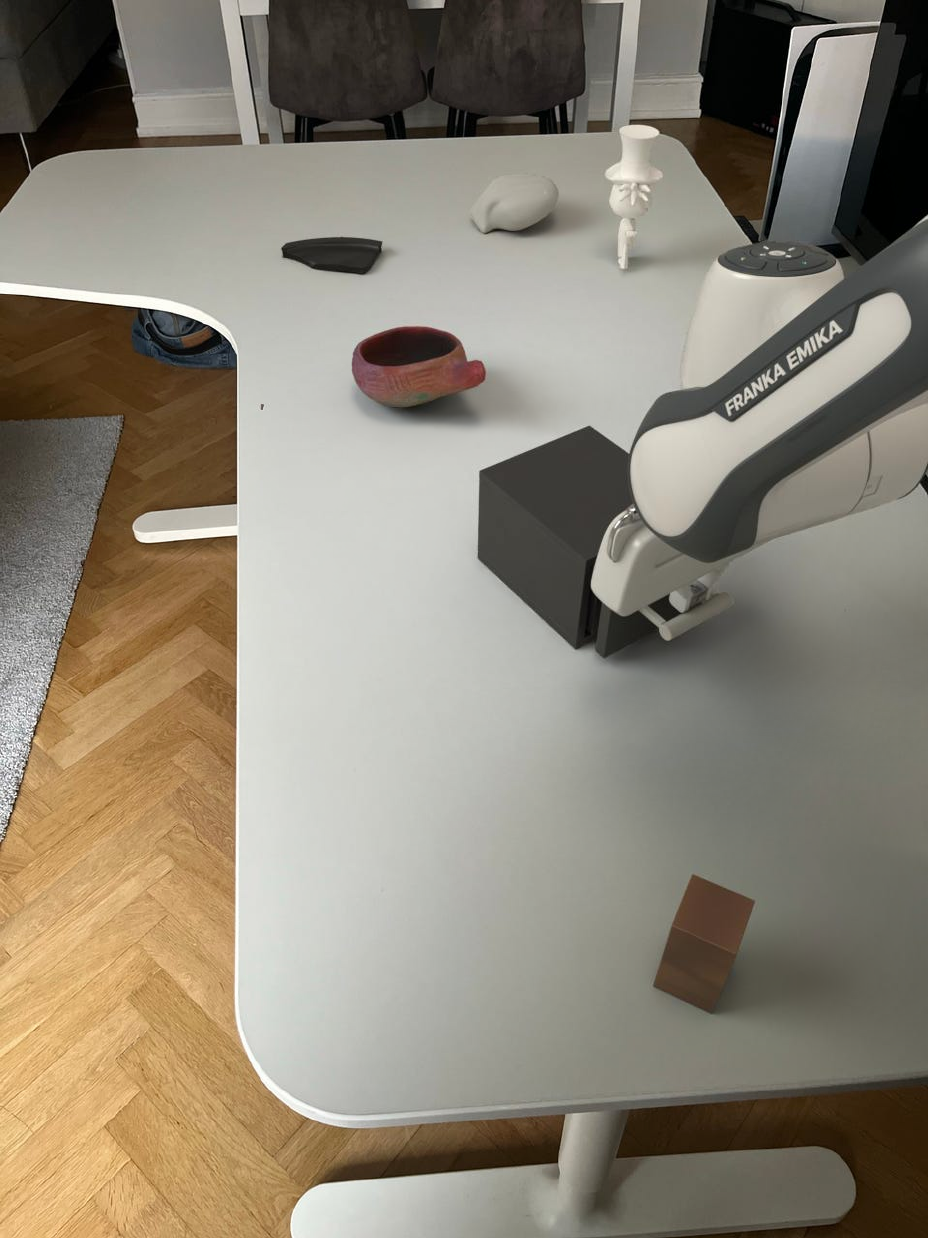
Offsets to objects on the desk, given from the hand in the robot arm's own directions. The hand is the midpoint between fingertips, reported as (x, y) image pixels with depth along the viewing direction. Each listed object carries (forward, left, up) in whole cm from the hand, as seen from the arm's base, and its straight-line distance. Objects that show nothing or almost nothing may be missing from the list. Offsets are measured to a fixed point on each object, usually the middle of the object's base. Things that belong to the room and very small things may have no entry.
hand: (688, 601), depth 81 cm
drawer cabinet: (+12, -6, -7) cm, 15 cm away
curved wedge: (+69, -53, -7) cm, 87 cm away
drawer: (+7, -3, -6) cm, 9 cm away
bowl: (+40, -26, -7) cm, 48 cm away
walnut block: (-10, +27, -7) cm, 30 cm away
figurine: (+32, -70, -7) cm, 77 cm away
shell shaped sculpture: (+52, -76, -7) cm, 92 cm away
